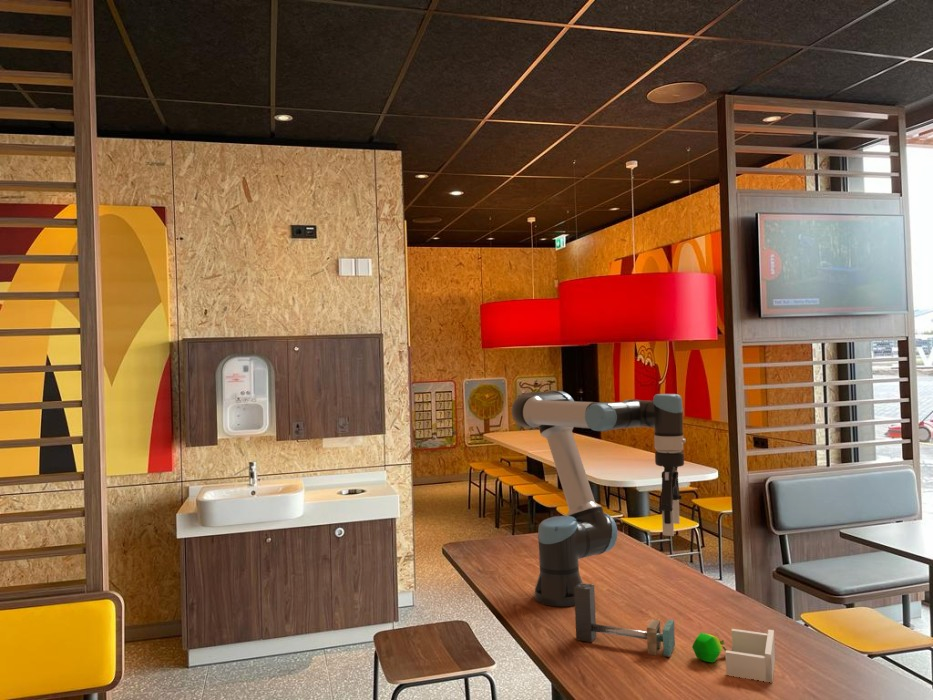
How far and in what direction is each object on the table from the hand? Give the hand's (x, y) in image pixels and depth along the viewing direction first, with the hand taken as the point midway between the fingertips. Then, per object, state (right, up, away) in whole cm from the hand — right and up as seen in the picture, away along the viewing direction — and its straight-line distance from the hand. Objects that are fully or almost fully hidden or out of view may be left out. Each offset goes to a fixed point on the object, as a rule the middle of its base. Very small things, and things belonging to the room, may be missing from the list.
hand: (671, 529), depth 180 cm
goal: (+9, -23, -30) cm, 39 cm away
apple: (+1, -24, -26) cm, 35 cm away
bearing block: (-10, -24, -20) cm, 33 cm away
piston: (-17, -24, -17) cm, 34 cm away
